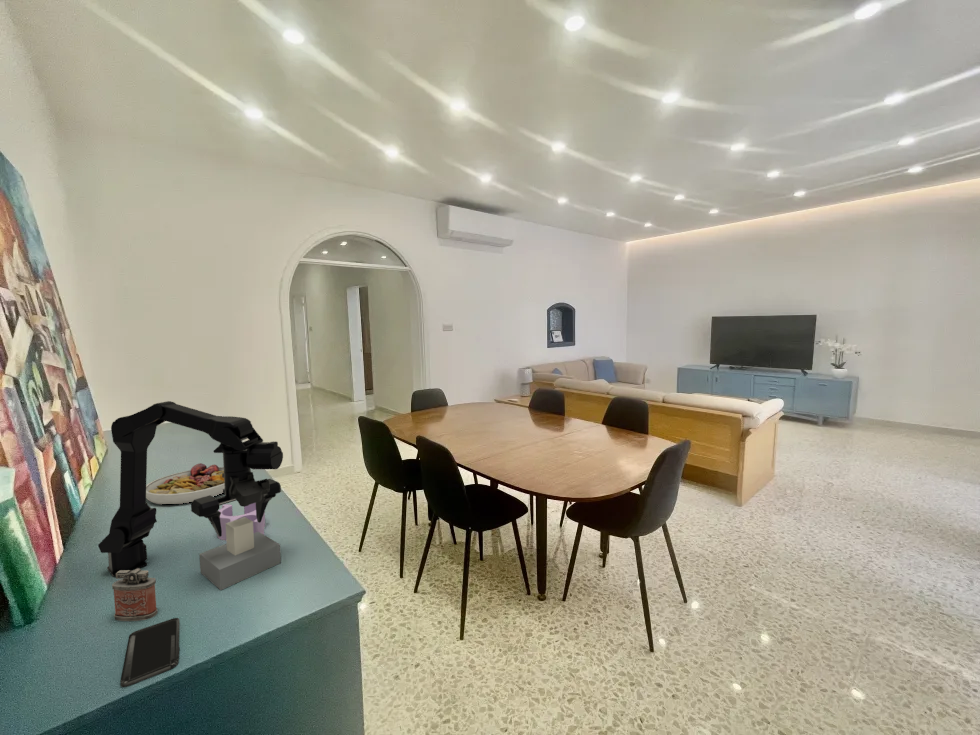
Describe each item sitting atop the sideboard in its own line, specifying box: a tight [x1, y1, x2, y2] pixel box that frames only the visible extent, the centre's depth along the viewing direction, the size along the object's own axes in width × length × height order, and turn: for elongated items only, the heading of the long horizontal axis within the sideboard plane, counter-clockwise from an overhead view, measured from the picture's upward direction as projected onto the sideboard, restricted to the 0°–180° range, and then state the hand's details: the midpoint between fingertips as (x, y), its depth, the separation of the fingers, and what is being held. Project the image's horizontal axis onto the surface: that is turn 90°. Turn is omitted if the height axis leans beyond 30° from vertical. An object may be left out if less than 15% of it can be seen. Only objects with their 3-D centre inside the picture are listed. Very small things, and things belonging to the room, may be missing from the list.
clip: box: [216, 503, 266, 541], centre depth 120 cm, size 20×12×7 cm, turn 41°
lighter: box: [111, 568, 159, 622], centre depth 84 cm, size 8×3×10 cm, turn 92°
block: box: [226, 517, 254, 555], centre depth 102 cm, size 4×4×7 cm
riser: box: [199, 532, 282, 591], centre depth 102 cm, size 14×12×5 cm
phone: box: [120, 617, 181, 688], centre depth 75 cm, size 8×1×15 cm
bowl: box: [146, 462, 225, 505], centre depth 153 cm, size 30×30×8 cm
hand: (240, 528), depth 101 cm, fingers open, 9 cm apart
